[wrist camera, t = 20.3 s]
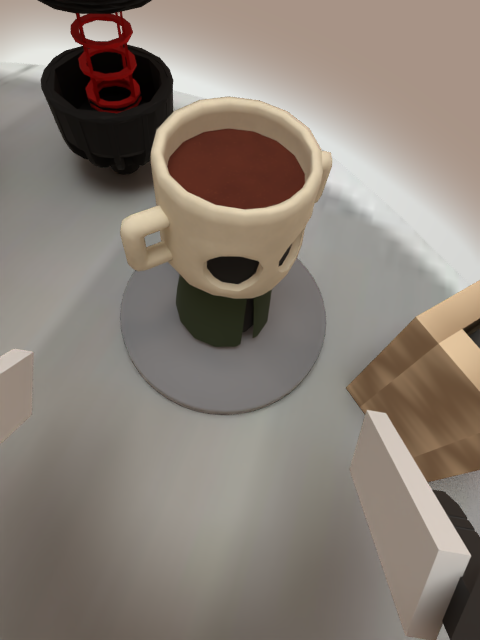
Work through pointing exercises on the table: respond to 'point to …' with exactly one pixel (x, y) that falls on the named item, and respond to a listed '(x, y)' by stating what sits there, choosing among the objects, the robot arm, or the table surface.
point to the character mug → (228, 210)
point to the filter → (107, 90)
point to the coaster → (222, 362)
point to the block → (431, 386)
